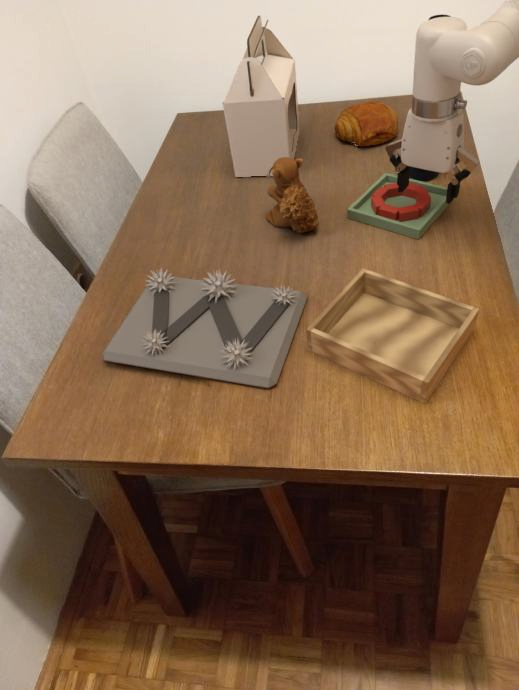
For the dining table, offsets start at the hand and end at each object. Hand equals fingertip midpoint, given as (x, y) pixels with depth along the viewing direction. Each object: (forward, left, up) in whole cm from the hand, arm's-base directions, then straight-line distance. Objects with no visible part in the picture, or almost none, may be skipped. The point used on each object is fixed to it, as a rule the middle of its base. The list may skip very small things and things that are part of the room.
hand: (426, 194), depth 101 cm
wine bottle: (+7, -14, -5) cm, 16 cm away
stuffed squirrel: (+21, +14, -5) cm, 26 cm away
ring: (+5, 0, -4) cm, 7 cm away
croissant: (+27, -25, -5) cm, 37 cm away
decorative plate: (+16, +47, -5) cm, 50 cm away
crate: (-11, +34, -5) cm, 36 cm away
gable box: (+44, -7, -5) cm, 45 cm away
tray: (+5, 0, -5) cm, 7 cm away
